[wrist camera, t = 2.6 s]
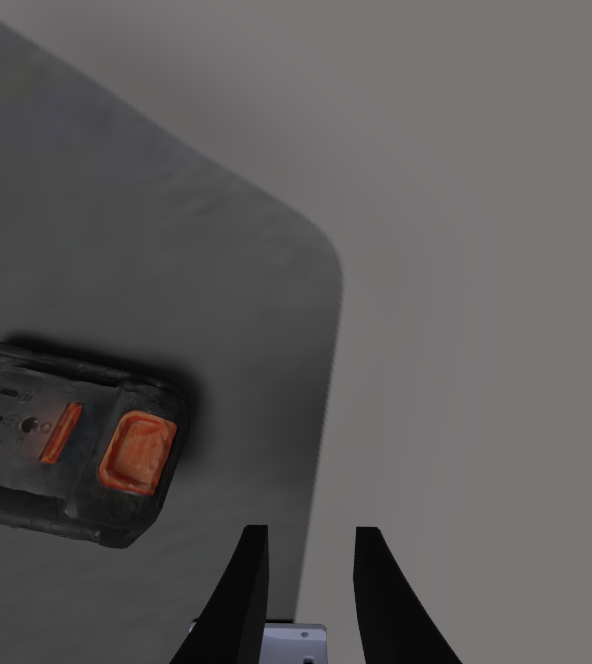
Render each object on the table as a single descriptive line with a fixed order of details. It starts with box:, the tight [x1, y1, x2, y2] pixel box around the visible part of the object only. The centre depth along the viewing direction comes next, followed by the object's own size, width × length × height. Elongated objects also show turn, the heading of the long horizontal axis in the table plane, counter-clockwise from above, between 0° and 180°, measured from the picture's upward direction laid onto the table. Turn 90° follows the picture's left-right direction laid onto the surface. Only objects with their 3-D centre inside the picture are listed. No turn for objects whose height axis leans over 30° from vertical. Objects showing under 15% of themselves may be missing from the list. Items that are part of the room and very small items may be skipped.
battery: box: [0, 342, 190, 549], centre depth 17 cm, size 12×8×7 cm
